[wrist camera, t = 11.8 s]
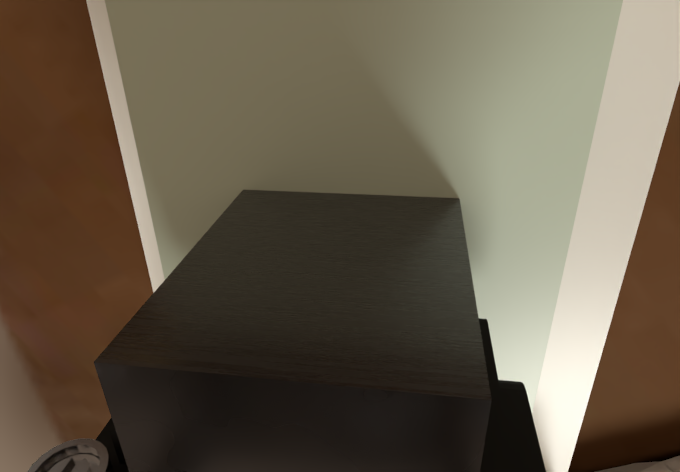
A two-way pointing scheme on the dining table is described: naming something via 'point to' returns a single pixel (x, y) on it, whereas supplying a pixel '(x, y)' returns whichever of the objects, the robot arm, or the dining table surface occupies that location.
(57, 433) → the dining table surface
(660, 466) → the packaged product
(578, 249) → the chassis
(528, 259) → the board
